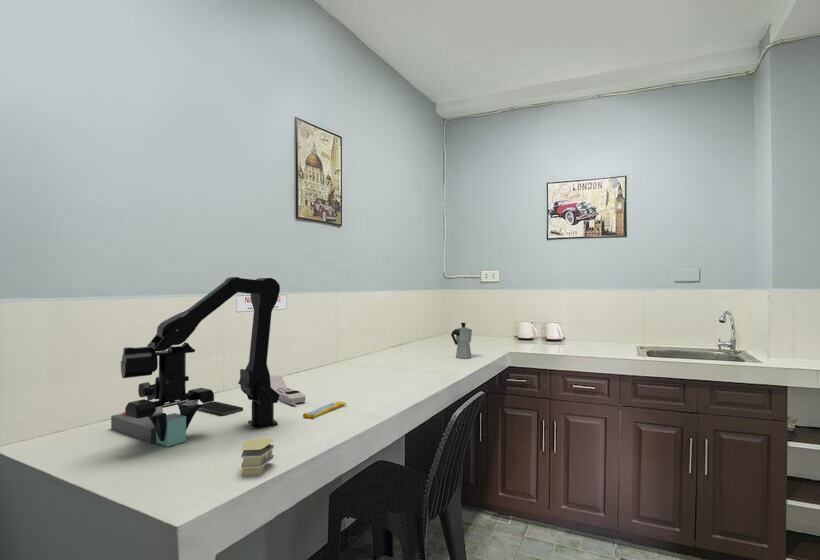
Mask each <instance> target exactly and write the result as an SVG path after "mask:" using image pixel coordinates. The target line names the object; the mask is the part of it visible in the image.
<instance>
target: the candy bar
mask: <svg viewBox="0 0 820 560" xmlns="http://www.w3.org/2000/svg"><path fill="white" fill-rule="evenodd" d="M345 405H347V402H345V401H335V402H331V403H328V404H326V405H324V406H321V407H319V408H317V409H314V410H312V411H309V412H307V413H306V412H303V415H302V417H303V418H304V419H312V420H314V419H316V418H319V417H321V416H323V415H324V416H325V415H326V414H328V413H331V412H333V411H336V410H338V409H340V408H342V407H343V406H345Z"/></svg>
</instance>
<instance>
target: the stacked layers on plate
mask: <svg viewBox="0 0 820 560" xmlns="http://www.w3.org/2000/svg"><path fill="white" fill-rule="evenodd" d="M274 441H275V439H274V438H271V437H264V438H263V437H262V438H255V439H249V440H245V441H244V442H243V444H242V446H241V449H240V450H241V451H242V453H241V455H240V459H242V463H241V465H240V466H241V467H240V468H241V469H242V470H243V472H242V473H243V474H242V476H244V477H245V476H260V475H262V473H263V471H264V469H265V466H266V465H267V464H268V463H269V462H271V461H272V460H273V459H274V458H275V454H273V450H274V448H275V445H273V444H271V443H273V442H274Z"/></svg>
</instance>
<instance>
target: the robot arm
mask: <svg viewBox="0 0 820 560" xmlns="http://www.w3.org/2000/svg"><path fill="white" fill-rule="evenodd" d="M280 291H281V285H280V283H279V282H278V281H277V280H276V279H274V278H271V277H259V278H256V279H250V278H241V277H239V276H230V277H228V278H227V277H226V279H225V280H224V281H223V282H222V283H220V285H218V286H217V287H215V288H214V289H213V290H211V291H210V292H209V293H207V295H205V296H203V298H201V299H200V300H198V301H197V302H196V303H194V304H193V305H192V306H191V307H189V308H188V309H186V310H184V311H182V312H178V313H177V314H175V315H173V316H171V317H169V318H167V319H165V320H163V321H162V322H160V323H159V325H158V326H157V329H156V335H155V336H154V337H153V338H152V339H151V340H150V342H149V343H148V344H147V346H141V347H140V346H139V347H131V346H129V347H127V346H126V347H124V348H122V350H123V351H122V352H123V353H122V356H121V361H120V374H121V378H123V379H129V378H139V377H145V376H152V374H153V373H155V372H156V371H158V376H156V377H155V380H154V381H155V383H153V384H151V383H150V382H141V383H140V384H138V390H137V391H138V397H139V398H143V399H139V400H133V401H129V402H128V403H127V404H126V406H125V411H124V412H125V415H127V416H131V417H134V418H143V417H149V418H150V420H151V421H152V423H153V425H154V427H155V430H156V432H157V434H158V437H159V439H160V441H164V438H165V429H166V415H167V413H165V412H163V411H164V410H163V409H165V408H169V407H174V406H178V409H179V414H180V415H184V416H186V431H187V430H188V428H189V425H190V423H191V422H192V420H193V418H194V416H195V414H196V412H198V411H197V410H198V408H201V405H200V404H199V401H200V402H201V404H204V403H209V402H215V393H214V391H213V390H212V389H209V388H205V387H198V388H192V389H189V390H188V391H187V392H186V390H187V389H186V388H187V387H186V386H187V383H186V382H188V381H189V376H188V375H186V373H187V372H186V369H187V368H186V366H187V365H186V364H187V363H186V362H187V361H186V359H187V357H186V356H187V354H190V353H191V354H192V353H195V352H196V349H195V348H194V347H192V346H191V345H190V344H189V342H186V340H187V339H188V338H189V337H190V336H191V335H192V334H193V333H194V332H195V330H196V329H197V328H198V326H199V324H200V323H201V322H202V321H203V320H205V319H206V318H207V317H208V316H209V315H211V314H212V313H213V312H215V311H216V310H217V309H218V308H220V307H221V306H222V305H223V304H225V303H226V302H227V301H229V300H230V299H231V298H233V296H235V295H236V294H238V293H239V294H240V293H241V294H249V295H250V300H251V301H250V302H251V304H252V308H253V318H252V327H251V336H250V337H251V339H250V347H249V348H250V349H249V357H248V358H249V359H248V364H247V365H246V367H245V369H244V368H240V370H239V377H240V378H239V380H238V382H237V383H238V385H240V391H242V392H243V394H245V395H246V397H247V399H248V400H250V401H251V419H250V420H248V421H247V423H248V425H250V427H251V428H252V429H260V428H265V427H270V426H271V427H272V426H277V425H278V422H277V420H276V419H275V418H274V417H275V416H274V414H275V413H274V411H275V409H274V407H275V406H274V404H276V403H278V401H279V394H278V393H277V392H276V391H275V390H273V389H272V388H271V382H270V376H271V374H270V371H269V367H268V354H269V345H270V343H269V342H270V334H271V333H270V331H271V322H272V313H273V310H274V307H276V304H277V302H278V299H279V295H280ZM145 397H146V399H145ZM153 400H155V401H153Z"/></svg>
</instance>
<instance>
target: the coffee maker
mask: <svg viewBox="0 0 820 560" xmlns="http://www.w3.org/2000/svg"><path fill="white" fill-rule="evenodd" d="M460 324H461V327H459V328H455V329H453V330H452V332H451V334H450V336H451V338H452V340H453V343H454V344H455V346H457V347H456V353H455V359H459V360H468V359H472V352H471V351H472V350H471V345H470V343H471V341H472V334H473V329H472V328H468V327H466V324H467V323H466V322H461V323H460Z"/></svg>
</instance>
